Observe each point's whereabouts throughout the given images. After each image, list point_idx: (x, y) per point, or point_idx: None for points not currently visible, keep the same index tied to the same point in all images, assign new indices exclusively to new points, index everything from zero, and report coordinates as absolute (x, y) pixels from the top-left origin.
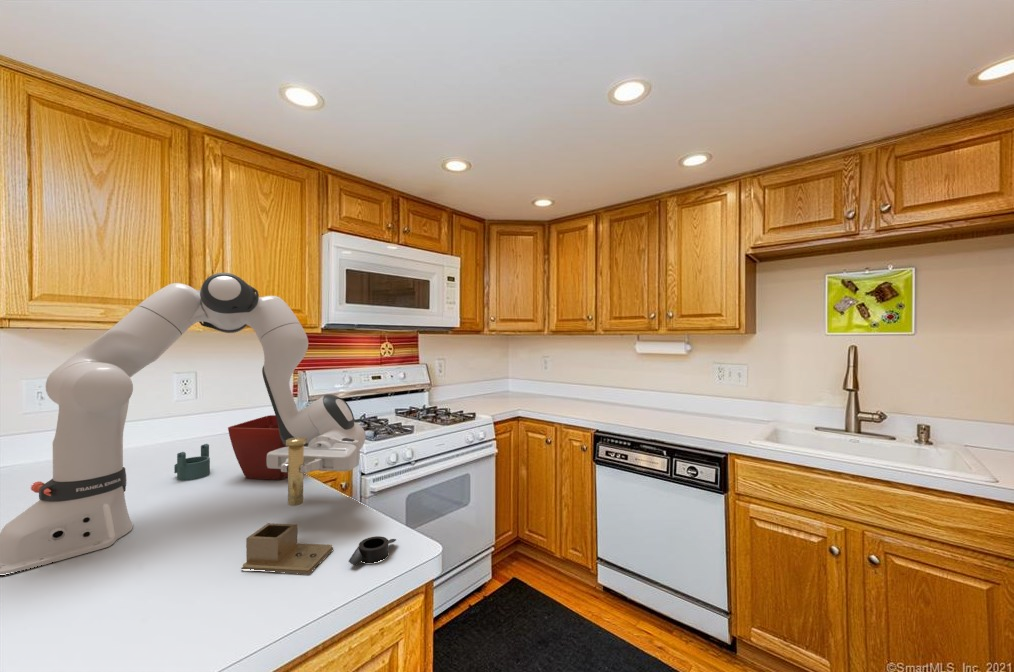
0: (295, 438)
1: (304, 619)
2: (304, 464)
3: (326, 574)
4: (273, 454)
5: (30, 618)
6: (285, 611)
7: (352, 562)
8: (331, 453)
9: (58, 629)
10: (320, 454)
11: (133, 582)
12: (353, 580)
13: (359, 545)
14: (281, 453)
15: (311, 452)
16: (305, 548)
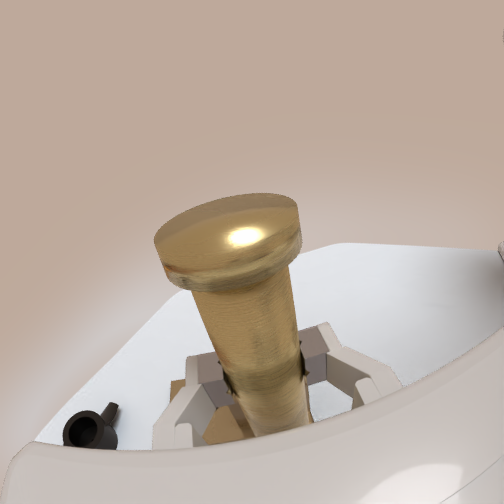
0: (249, 221)
1: (141, 330)
2: (205, 360)
3: (149, 393)
4: (493, 335)
5: (398, 251)
6: (165, 332)
7: (112, 403)
8: (99, 491)
9: (358, 256)
10: (164, 463)
11: (399, 294)
12: (110, 388)
13: (102, 423)
14: (470, 359)
15: (283, 493)
16: (215, 426)
